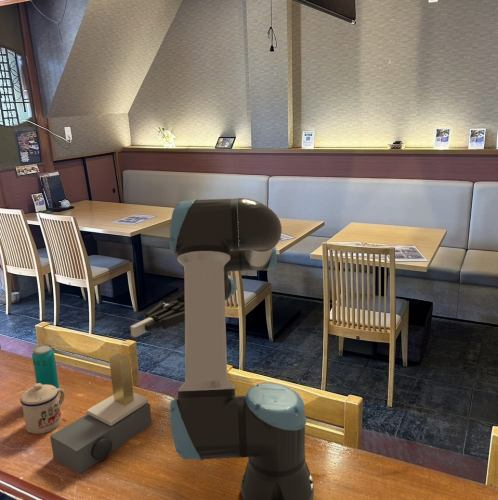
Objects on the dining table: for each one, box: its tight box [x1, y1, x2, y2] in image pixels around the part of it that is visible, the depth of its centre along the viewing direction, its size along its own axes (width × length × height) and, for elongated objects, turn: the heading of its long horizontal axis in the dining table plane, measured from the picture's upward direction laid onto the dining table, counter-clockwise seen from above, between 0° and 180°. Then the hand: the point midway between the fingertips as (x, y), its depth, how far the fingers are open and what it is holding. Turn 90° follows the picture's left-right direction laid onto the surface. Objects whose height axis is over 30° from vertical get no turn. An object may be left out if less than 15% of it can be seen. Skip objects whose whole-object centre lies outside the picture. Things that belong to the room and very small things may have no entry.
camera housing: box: [49, 402, 153, 475], centre depth 124 cm, size 22×11×6 cm, turn 144°
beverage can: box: [31, 344, 60, 394], centre depth 143 cm, size 6×6×15 cm
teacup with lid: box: [19, 383, 66, 435], centre depth 132 cm, size 12×9×12 cm
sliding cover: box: [86, 353, 149, 426], centre depth 125 cm, size 12×9×13 cm
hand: (133, 331), depth 128 cm, fingers closed
